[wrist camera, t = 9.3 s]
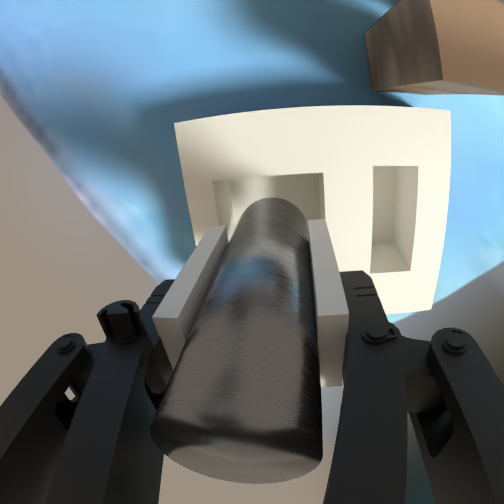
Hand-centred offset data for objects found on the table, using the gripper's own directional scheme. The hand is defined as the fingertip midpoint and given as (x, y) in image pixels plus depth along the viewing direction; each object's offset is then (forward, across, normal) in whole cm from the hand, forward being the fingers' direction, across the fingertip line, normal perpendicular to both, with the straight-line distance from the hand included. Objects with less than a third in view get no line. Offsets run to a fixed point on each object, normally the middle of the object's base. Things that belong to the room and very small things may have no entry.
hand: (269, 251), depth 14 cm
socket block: (+7, +3, 0) cm, 8 cm away
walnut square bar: (+8, +9, +9) cm, 15 cm away
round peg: (+3, 0, 0) cm, 3 cm away
